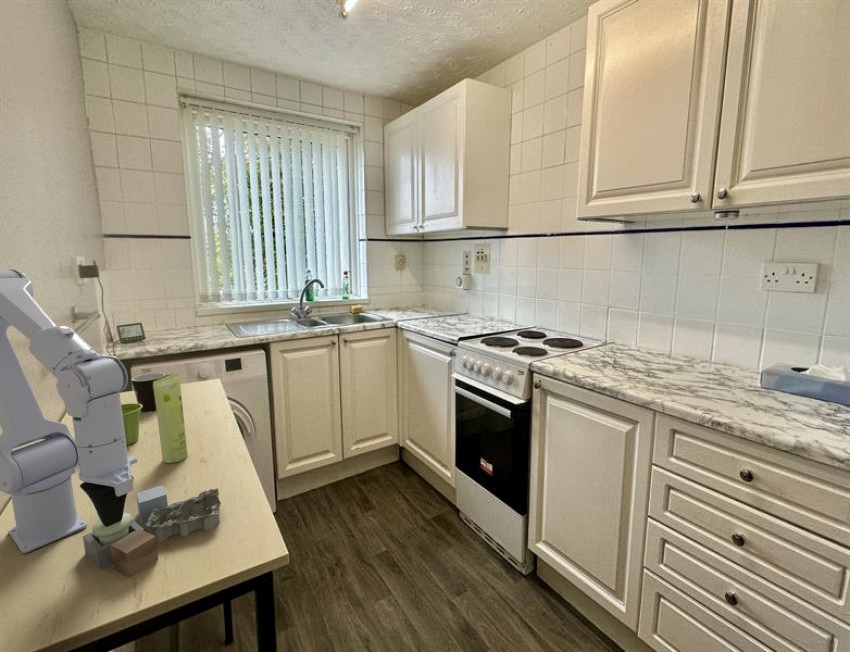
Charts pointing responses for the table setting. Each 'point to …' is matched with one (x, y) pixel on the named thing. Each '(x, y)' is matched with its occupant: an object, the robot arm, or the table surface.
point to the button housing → (103, 547)
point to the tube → (170, 418)
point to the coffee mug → (146, 390)
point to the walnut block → (134, 553)
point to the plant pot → (131, 421)
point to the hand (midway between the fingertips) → (112, 522)
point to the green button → (112, 530)
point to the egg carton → (179, 509)
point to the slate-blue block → (151, 501)
